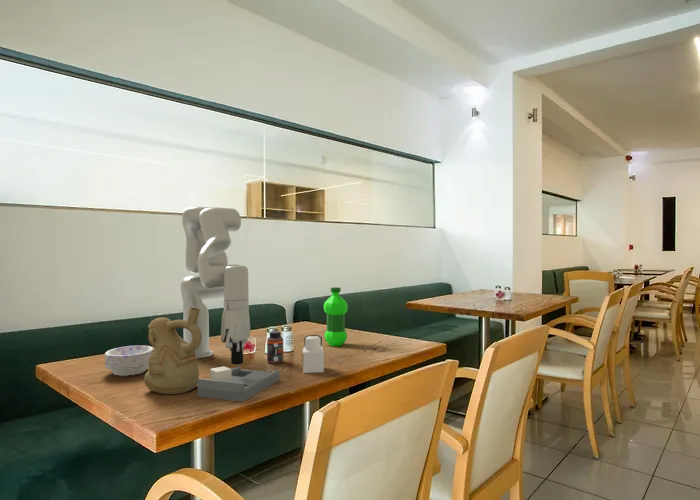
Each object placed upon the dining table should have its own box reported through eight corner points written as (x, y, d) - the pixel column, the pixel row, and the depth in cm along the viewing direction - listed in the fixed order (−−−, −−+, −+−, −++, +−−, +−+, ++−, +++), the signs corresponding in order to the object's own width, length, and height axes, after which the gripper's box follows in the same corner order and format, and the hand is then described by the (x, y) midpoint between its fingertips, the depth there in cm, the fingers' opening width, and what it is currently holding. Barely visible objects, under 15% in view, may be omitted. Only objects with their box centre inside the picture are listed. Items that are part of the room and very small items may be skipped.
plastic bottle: (333, 341, 209) (333, 286, 209) (352, 344, 203) (352, 287, 203) (319, 345, 201) (318, 288, 201) (338, 348, 195) (338, 289, 194)
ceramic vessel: (170, 378, 152) (169, 302, 152) (218, 384, 144) (218, 304, 144) (127, 393, 136) (126, 308, 136) (179, 401, 129) (178, 312, 128)
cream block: (210, 384, 136) (209, 368, 136) (224, 381, 139) (224, 366, 139) (216, 388, 133) (216, 372, 133) (231, 384, 136) (231, 369, 136)
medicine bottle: (303, 367, 164) (302, 334, 164) (323, 367, 164) (323, 333, 164) (302, 373, 157) (302, 338, 157) (323, 372, 157) (323, 337, 157)
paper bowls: (106, 381, 148) (106, 357, 148) (103, 371, 161) (102, 348, 161) (157, 374, 156) (157, 351, 156) (150, 365, 169) (149, 343, 169)
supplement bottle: (280, 364, 169) (279, 333, 169) (264, 363, 170) (264, 333, 170) (285, 360, 174) (285, 330, 174) (270, 359, 176) (270, 330, 176)
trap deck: (197, 396, 133) (197, 379, 133) (238, 376, 153) (238, 361, 153) (243, 401, 128) (242, 383, 128) (279, 380, 148) (279, 364, 148)
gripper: (239, 302, 153) (239, 357, 153) (211, 307, 139) (212, 368, 139) (259, 302, 150) (259, 359, 150) (233, 308, 136) (234, 370, 136)
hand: (237, 363), depth 144 cm, fingers closed
